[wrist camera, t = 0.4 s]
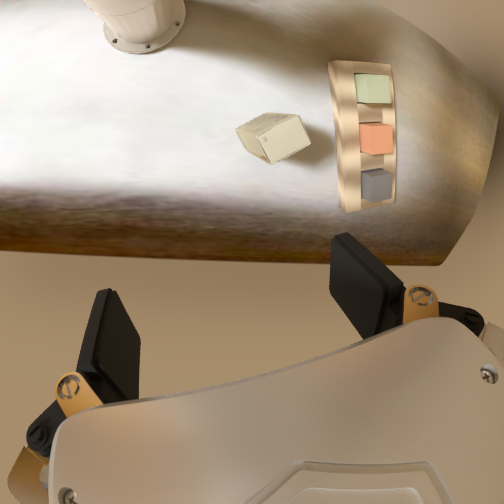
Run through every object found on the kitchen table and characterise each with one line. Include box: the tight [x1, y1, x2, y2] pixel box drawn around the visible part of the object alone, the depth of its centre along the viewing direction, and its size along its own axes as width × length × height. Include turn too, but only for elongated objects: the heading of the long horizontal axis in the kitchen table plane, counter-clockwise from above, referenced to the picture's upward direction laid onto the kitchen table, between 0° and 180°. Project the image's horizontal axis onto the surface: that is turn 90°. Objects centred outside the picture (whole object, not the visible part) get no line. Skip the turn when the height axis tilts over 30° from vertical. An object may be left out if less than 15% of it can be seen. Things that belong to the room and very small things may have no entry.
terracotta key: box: [359, 122, 393, 155], centre depth 42 cm, size 5×5×4 cm
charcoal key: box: [361, 168, 393, 203], centre depth 47 cm, size 5×5×4 cm
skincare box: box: [235, 113, 311, 165], centre depth 36 cm, size 6×4×12 cm
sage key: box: [354, 74, 391, 103], centre depth 37 cm, size 5×5×4 cm
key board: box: [327, 60, 396, 213], centre depth 44 cm, size 28×12×3 cm, turn 9°
